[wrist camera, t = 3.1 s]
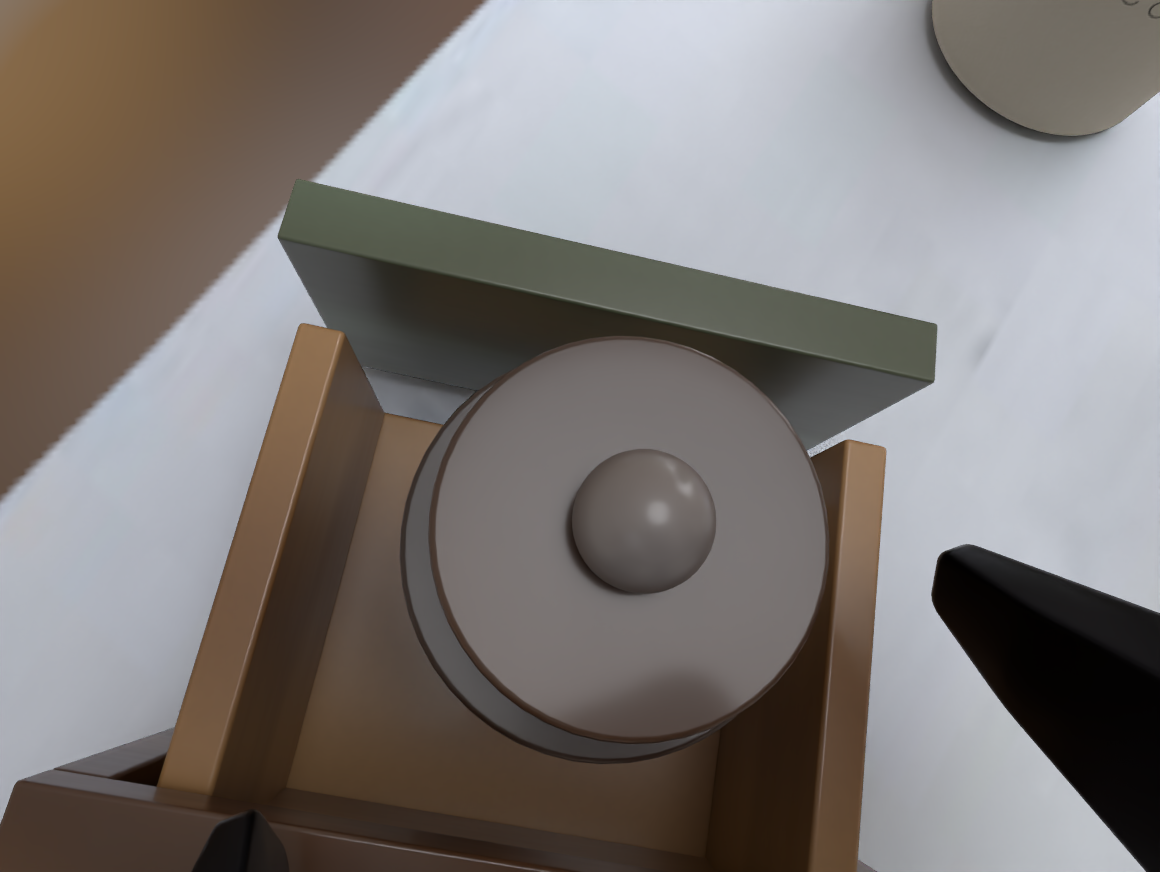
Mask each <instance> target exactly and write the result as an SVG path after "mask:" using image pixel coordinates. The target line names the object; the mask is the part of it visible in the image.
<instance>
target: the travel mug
mask: <svg viewBox="0 0 1160 872" xmlns="http://www.w3.org/2000/svg"><path fill="white" fill-rule="evenodd" d="M932 20H933V26H934V31H935V35H936V38H937V41H938V44H939V46H940V49H941V51H942V53H943V55H944V57H945V59H946V61H947V63H948V64H949V66H950V67H951V69H952V70H953V72H954V73H955V74H956V76H957V77H958V78H959V80H960V81H961V82H962V83H963V84H964V85H965V86H966V88H967V89H968V90H969V91H970V92H971V93H972V94H974V95H975V96H976V97H977V98H978V99H979V100H980V101H982V102H983V103H984V104H985V105H987V106H988V107H989V108H991V109H992V110H994V111H995V112H997V113H998V114H1000V115H1002V116H1003V117H1005V118H1007V119H1009V120H1011V121H1013V122H1015V123H1017V124H1019V125H1022V126H1025V127H1027V128H1030V129H1033V130H1037V131H1040V132H1044V133H1049V134H1055V135H1066V136H1077V135H1087V134H1093V133H1097V132H1100V131H1104V130H1106V129H1108V128H1111V127H1113V126H1115V125H1116V124H1118V123H1120V122H1121V121H1123V120H1124V119H1125V118H1127V117H1128V116H1129V115H1131V114H1132V113H1133V112H1134V111H1136V110H1137V109H1138V108H1139V107H1141V106H1142V105H1143V104H1144V103H1146V102H1147V101H1148V100H1150V99H1151V98H1152V97H1153V96H1155V95H1156V94H1157V93H1158V92H1160V0H932Z"/></svg>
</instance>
